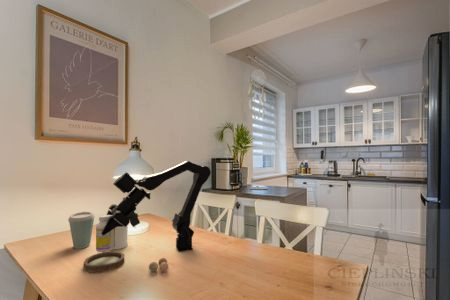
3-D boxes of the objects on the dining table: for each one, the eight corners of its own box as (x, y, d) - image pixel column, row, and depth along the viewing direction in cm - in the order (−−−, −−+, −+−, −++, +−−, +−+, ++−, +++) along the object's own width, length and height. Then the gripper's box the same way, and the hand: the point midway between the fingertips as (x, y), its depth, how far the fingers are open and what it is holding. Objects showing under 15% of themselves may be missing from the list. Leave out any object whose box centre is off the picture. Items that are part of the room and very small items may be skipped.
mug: (111, 253, 102) (111, 225, 102) (97, 250, 105) (97, 223, 106) (131, 244, 113) (132, 218, 113) (118, 241, 116) (118, 217, 117)
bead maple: (157, 268, 88) (157, 259, 88) (158, 272, 85) (158, 263, 85) (148, 269, 87) (148, 261, 87) (148, 273, 84) (149, 264, 84)
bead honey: (166, 264, 92) (166, 256, 92) (167, 267, 89) (167, 259, 89) (158, 265, 91) (158, 257, 91) (158, 269, 88) (158, 260, 88)
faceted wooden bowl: (125, 254, 100) (125, 249, 101) (123, 269, 87) (123, 263, 87) (88, 259, 96) (88, 253, 96) (79, 275, 83) (79, 269, 83)
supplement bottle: (106, 246, 96) (107, 213, 97) (118, 247, 93) (119, 214, 94) (91, 251, 90) (92, 217, 91) (104, 253, 87) (104, 218, 88)
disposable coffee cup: (92, 248, 107) (93, 215, 107) (64, 252, 103) (65, 217, 103) (95, 241, 117) (96, 210, 117) (70, 243, 113) (71, 212, 113)
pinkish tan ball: (167, 268, 88) (167, 260, 88) (168, 272, 85) (168, 263, 85) (158, 270, 87) (158, 261, 87) (159, 274, 84) (159, 265, 84)
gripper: (151, 217, 92) (120, 252, 86) (141, 208, 108) (115, 237, 102) (130, 199, 88) (96, 234, 82) (123, 192, 104) (94, 221, 98)
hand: (101, 232), depth 91 cm, fingers closed on supplement bottle, 6 cm apart
